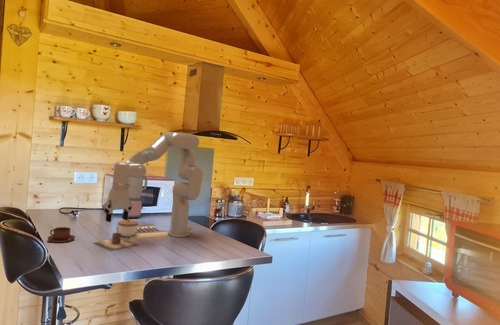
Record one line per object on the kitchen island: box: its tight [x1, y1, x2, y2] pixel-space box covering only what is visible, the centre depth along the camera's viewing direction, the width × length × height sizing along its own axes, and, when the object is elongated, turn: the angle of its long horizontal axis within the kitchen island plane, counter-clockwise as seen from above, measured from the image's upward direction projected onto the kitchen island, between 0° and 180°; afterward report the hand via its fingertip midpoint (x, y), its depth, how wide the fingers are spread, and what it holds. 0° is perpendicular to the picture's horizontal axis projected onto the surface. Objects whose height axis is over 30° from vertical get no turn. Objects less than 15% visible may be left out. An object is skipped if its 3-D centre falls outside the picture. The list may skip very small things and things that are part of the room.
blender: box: [121, 175, 148, 219], centre depth 242 cm, size 16×12×32 cm
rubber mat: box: [92, 242, 139, 252], centre depth 175 cm, size 16×16×1 cm
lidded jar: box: [117, 218, 139, 238], centre depth 193 cm, size 11×11×9 cm
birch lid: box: [94, 232, 137, 251], centre depth 174 cm, size 14×14×5 cm
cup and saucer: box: [47, 226, 76, 244], centre depth 173 cm, size 12×12×6 cm
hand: (116, 220), depth 174 cm, fingers open, 9 cm apart
